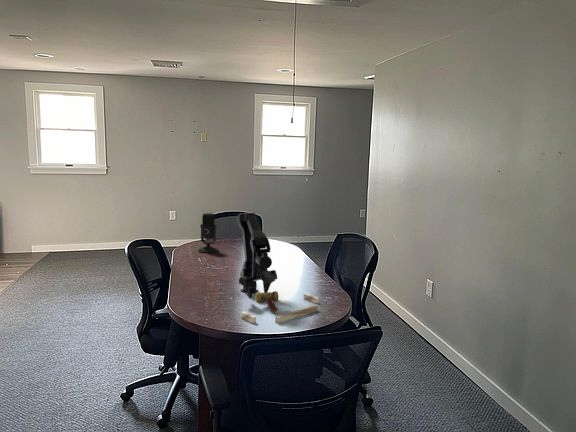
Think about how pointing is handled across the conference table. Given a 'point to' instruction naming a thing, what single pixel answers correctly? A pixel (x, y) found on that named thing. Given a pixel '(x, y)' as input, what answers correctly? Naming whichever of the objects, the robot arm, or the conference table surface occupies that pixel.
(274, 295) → the gavel
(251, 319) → the wooden bars
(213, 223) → the microphone
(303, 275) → the conference table surface
